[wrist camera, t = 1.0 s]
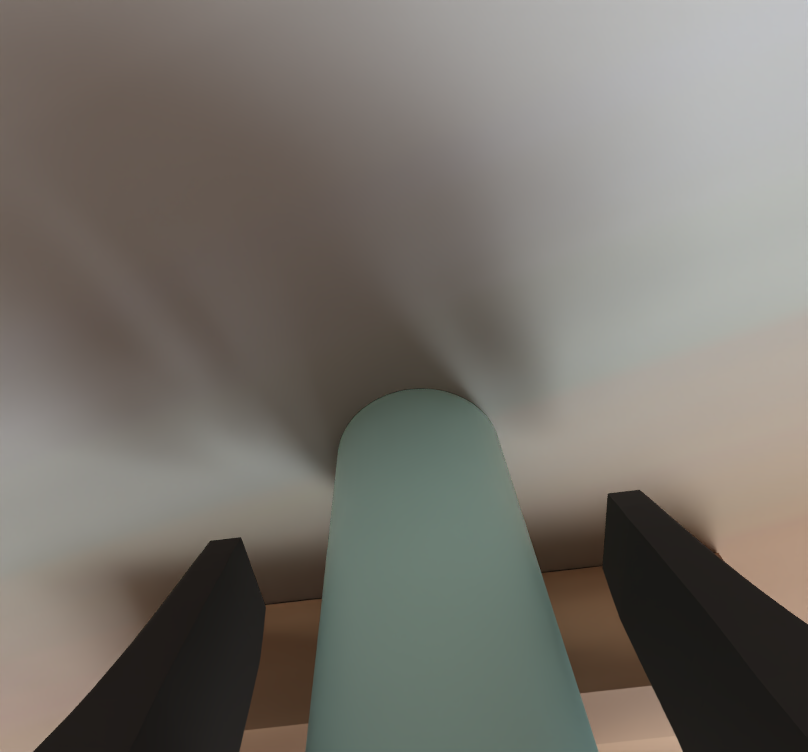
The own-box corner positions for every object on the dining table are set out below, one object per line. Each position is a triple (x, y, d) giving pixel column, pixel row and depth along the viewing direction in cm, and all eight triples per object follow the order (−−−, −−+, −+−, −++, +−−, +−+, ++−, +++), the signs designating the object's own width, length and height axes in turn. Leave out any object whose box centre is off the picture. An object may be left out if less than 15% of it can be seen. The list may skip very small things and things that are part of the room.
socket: (677, 748, 21) (730, 867, 18) (248, 794, 21) (226, 918, 18) (718, 552, 16) (799, 669, 13) (160, 616, 16) (109, 745, 13)
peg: (502, 510, 15) (613, 908, 8) (352, 528, 15) (327, 936, 8) (496, 378, 13) (636, 750, 6) (323, 400, 13) (257, 791, 6)
